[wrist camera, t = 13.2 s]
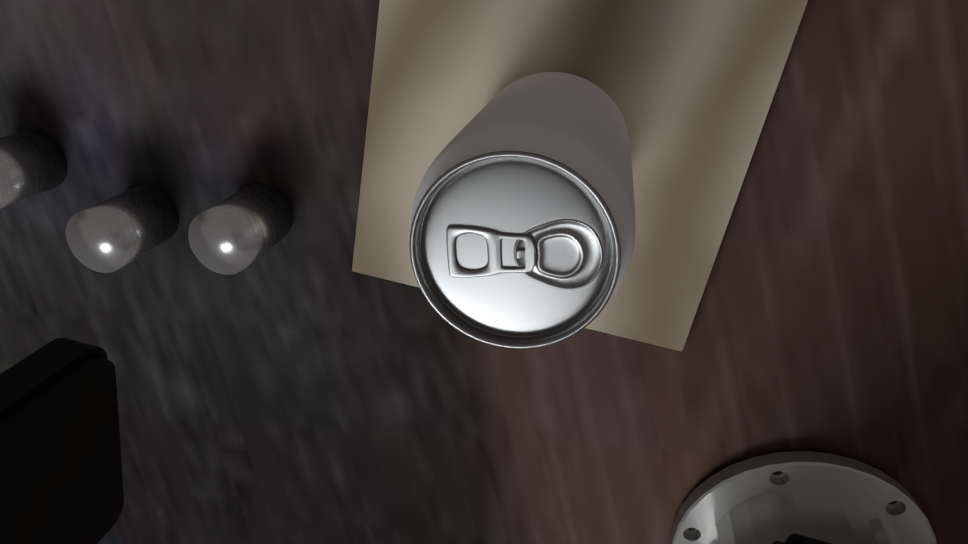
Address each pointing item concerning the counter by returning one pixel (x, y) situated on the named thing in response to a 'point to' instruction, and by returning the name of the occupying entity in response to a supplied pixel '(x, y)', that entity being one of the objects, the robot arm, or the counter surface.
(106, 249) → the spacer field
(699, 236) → the board
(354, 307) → the counter surface
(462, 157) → the can
